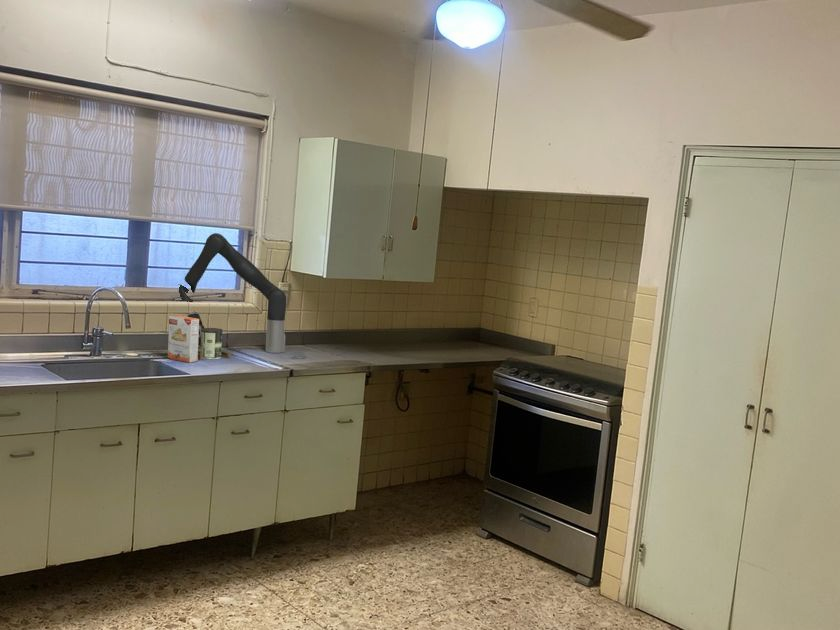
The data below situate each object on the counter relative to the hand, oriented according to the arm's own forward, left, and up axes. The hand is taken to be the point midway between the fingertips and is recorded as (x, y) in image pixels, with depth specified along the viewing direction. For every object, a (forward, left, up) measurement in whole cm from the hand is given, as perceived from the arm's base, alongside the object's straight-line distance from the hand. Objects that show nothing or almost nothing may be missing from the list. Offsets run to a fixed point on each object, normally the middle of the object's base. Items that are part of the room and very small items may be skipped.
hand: (202, 344), depth 396 cm
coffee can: (0, +10, -5) cm, 11 cm away
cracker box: (+16, +13, -5) cm, 21 cm away
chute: (0, +10, -5) cm, 11 cm away
